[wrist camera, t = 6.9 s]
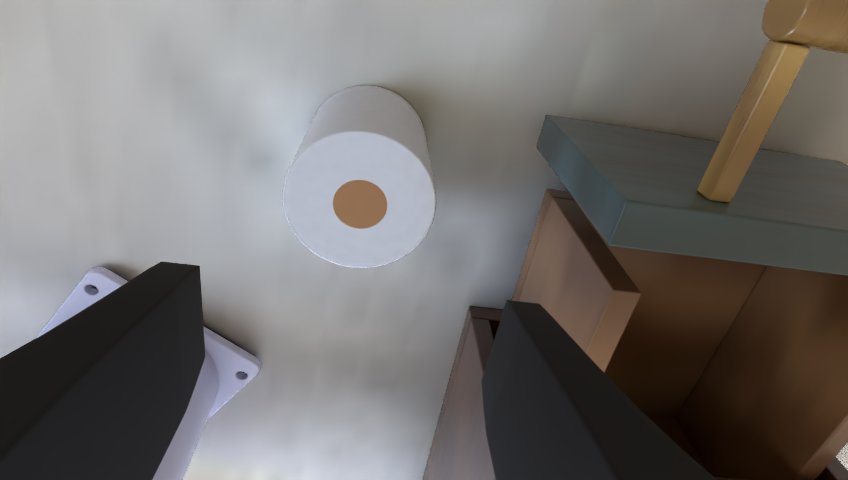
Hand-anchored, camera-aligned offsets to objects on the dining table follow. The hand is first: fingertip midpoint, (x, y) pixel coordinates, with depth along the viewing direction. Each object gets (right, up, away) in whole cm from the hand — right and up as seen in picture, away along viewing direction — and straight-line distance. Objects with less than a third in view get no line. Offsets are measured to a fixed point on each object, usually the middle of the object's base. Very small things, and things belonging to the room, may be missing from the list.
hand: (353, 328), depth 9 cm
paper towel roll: (-1, +5, +9) cm, 10 cm away
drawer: (+10, +1, +11) cm, 15 cm away
